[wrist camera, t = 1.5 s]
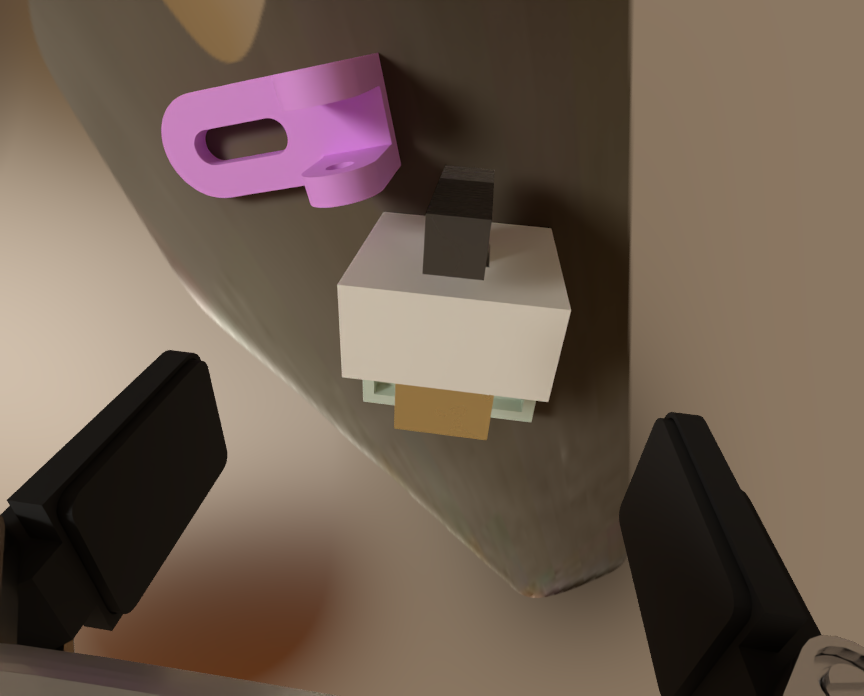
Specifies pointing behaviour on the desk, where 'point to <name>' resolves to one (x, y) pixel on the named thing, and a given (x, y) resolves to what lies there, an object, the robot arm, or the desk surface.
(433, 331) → the block
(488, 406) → the block
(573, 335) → the desk surface
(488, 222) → the grey upright plate
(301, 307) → the desk surface
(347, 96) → the bracket
